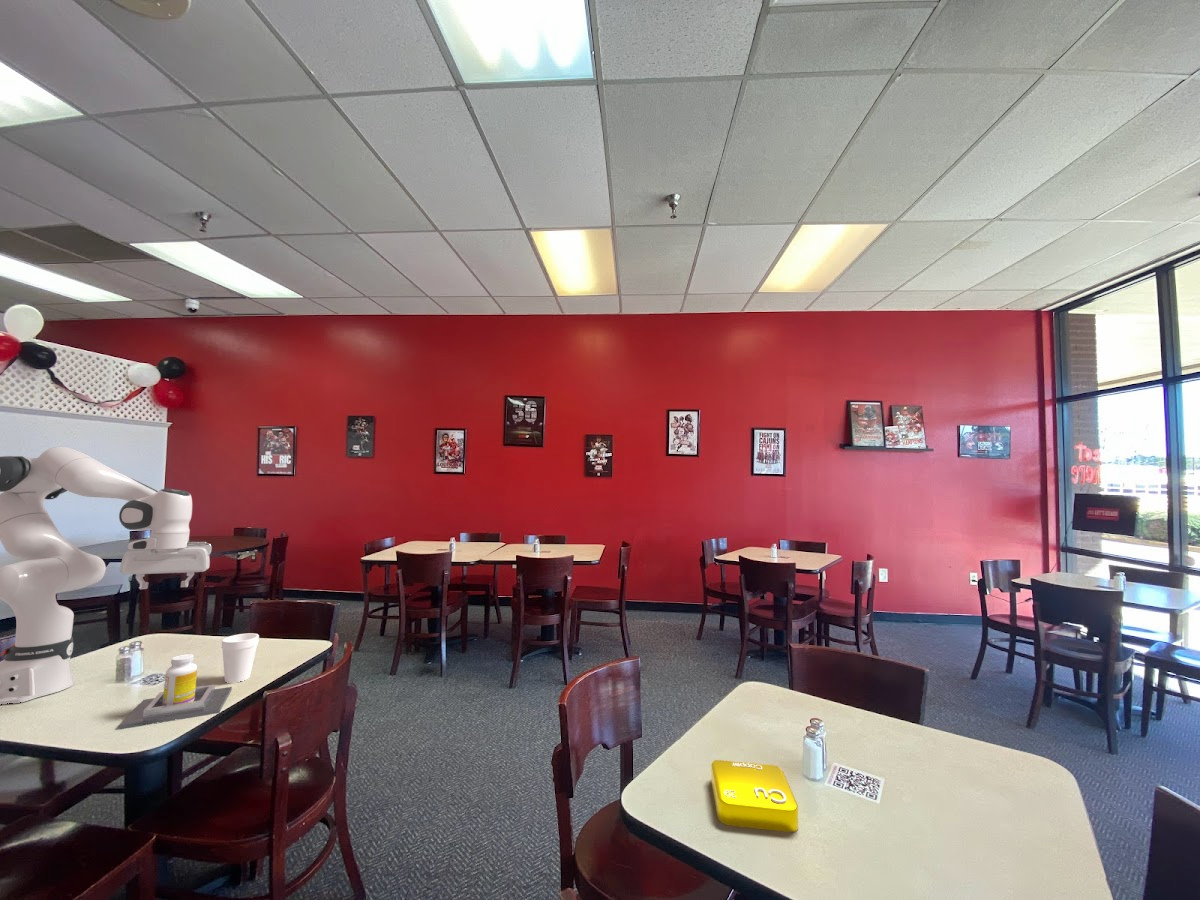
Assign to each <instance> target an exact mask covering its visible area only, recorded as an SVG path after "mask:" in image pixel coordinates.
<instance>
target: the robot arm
mask: <svg viewBox="0 0 1200 900" xmlns="http://www.w3.org/2000/svg"><path fill="white" fill-rule="evenodd" d="M66 492H69V493H72V494H75V495H78V496H81V497H85V498H86V497H87V498H105V499H118V500H123V501H127V502H125V504H124V505H122V507H121V509H120V510H119V513H118V514H119V515H118V518H119V522H120V523H121V525H122V526H123V528H125V529H127V530H129V531H130V530H131V531H149V530H150V531H151V532H150V536H149V537H143V538H141V539H138V540H134V541H131V542H129V543H127V549H128V550H127V551H125V553H124V554H123V556H122V558H121V559H122V560H121V562H120V568H119V572H120V573H121V575H123V576H124V575H129V576H130V575H135V579H136V581H137V583H138V584H139V590H147V589H148V588H149V582H148V581H145V580H144V577H145V575H151V574H152V575H153V574H175V573H176V574H180V573H182V574H183V573H186V576H187V578H186V579H185V580H182V581H181V582H180V588H188V587H189V583H190V581H191V579H192V578H193V577H194V576H195V573H203V572H206V571H207V570H209V568H210V565H211V564H210V563H211V561H210V555H211V553H212V551H213V546H212V545H211V543H208V542H207V541H190V534H191V532H190V531H191V529H190V522H191V519H192V516H193V499H192V498H193V497H192V495H191V493H190V492H188V491H187V490H183V489H179V488H178V489H176V488H161V489H159V490H157V489H155V488H152V487H151V486H148V485H147V484H145V483H143V482H140V481H138V480H136V479H134V478H132V477H130V476H127V475H125V474H123V473H121V472H119V471H117V470H115V469H113V468H111V467H109V466H108V465H106V464H104V463H102V462H101V461H99V460H97V459H96V458H94V457H93V456H90V455H89V454H86V453H84V452H82V451H80V450H78V449H74V448H71V447H69V446H68V447H67V446H56V447H52V448H49V449H47V450H45V451H43V452H42V453H41V454H39V456H38V457H25V456H20V455H19V456H15V455H14V456H13V455H12V456H11V455H5V456H0V542H1V545H2V546H3V548H4V550H5V551H6V552H7V554H10V555H11V556H13V557H17V558H21V559H24V560H22V561H16V562H14V563H10V564H6V565H3V566H0V601H3V602H4V603H6V604H7V605H8V606H9V607H10V608H11V610H12V611H13V614H14V616H15V620H16V623H15V624H16V628H15V640H14V643H12V644H11V645H10V646H8V647H6V648H5V649H4V650H3V651H1V652H0V653H1V654H0V656H3V660H1V661H0V705H1V704H2V705H10V704H9V703H13V704H20V702H21V703H24V702H28V701H30V700H34V699H36V698H40V697H44V696H48V695H51V694H54V693H57V692H60V691H63V690H66V689H68V688H70V687H72V686H73V685H74V684H75V682H74V681H75V680H74V678H73V673H72V668H71V667H72V666H71V656H72V653H73V651H74V636H72V634H73V626H74V618H75V617H74V616H75V614H74V611H73V610H72V609H71V608H69V607H67V606H64V605H59V603H58V602H57V598H56V597H57V596H56V595H57V594H60V593H64V592H65V593H67V592H72V591H76V590H77V591H78V590H81V589H84V588H87V587H89V586H92V585H95V584H97V583H99V582H100V581H101V580H102V579H103V578H104V576H105V574H106V570H107V569H106V568H107V567H106V563H105V561H104V560H103V559H102V558H101V557H100V556H98V555H94V554H93V553H92V554H91V553H88V552H86V551H83V550H82V549H80V548H78V547H76V545H73V544H72V543H71V542H69V541H68V540H67V539H66V538H65V537H64V536H63V535H62V534H61V533H60V531H59V530H58V529H57V526H56V525H55V523H54V521H53V519H52V518H51V516H50V514H49V513H48V512H47V510H46V508H45V505H44V501H45V500H54V499H57V498H58V497H59V496H60V495H61V494H64V493H66ZM7 703H8V704H7Z"/></svg>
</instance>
